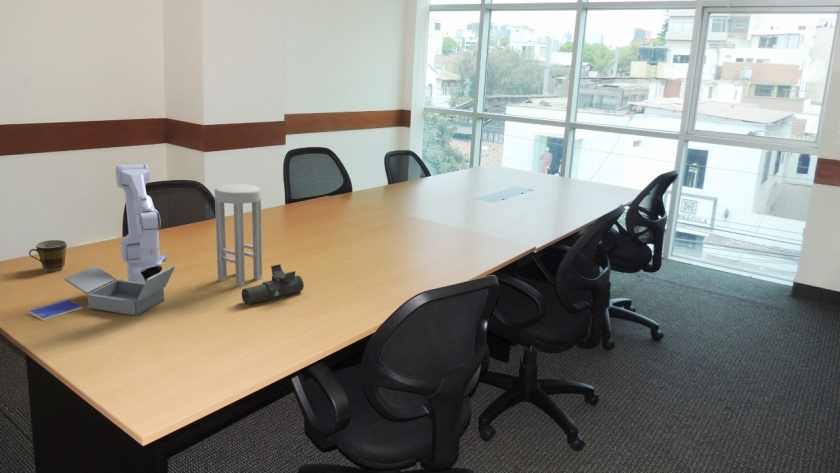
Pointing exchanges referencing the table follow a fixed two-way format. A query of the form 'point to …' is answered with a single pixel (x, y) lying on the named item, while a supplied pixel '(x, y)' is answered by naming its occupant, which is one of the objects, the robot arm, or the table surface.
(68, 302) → the hard drive
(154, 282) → the flap
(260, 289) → the laser sight
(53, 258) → the ceramic cup
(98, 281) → the flap
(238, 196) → the stool
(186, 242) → the table surface
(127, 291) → the carton
